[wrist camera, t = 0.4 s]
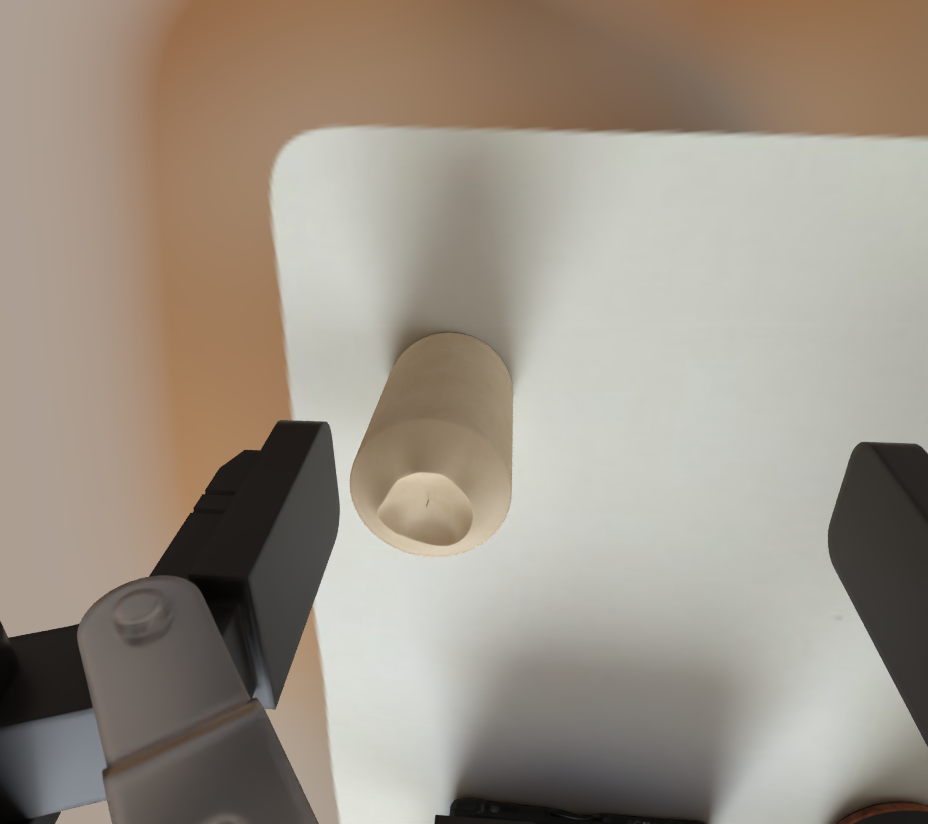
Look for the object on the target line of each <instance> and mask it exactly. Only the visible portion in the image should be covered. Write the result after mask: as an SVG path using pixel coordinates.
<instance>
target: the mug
mask: <svg viewBox="0 0 928 824" xmlns="http://www.w3.org/2000/svg"><path fill="white" fill-rule="evenodd" d="M838 824H928V806H925V805H921V804H915V803H887V804H880V805H876V806H872V807H868V808H865V809H862V810H860V811H858V812H855V813H853V814H851V815H849V816H848V817H846V818H845V819H843V820H842V821H840V822H839V823H838Z"/></svg>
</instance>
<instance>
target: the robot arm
mask: <svg viewBox="0 0 928 824" xmlns="http://www.w3.org/2000/svg"><path fill="white" fill-rule="evenodd" d="M205 492H206V493H205V495H204V494H203V495H202V496H201V498H200V499H199V501H198V502H197V504H196V505H195V507H194V512H193V513H190V515H189V516H188V517H187V519H186V521H185V522H184V524H183V525H182V527H181V528H180V530H179V531H178V533H177V535H176V536H175V537H174V539H173V541H172V542H171V544H170V545H169V547H168V548H167V550H166V551H165V553H164V554H163V556H162V557H161V559H160V561H159V562H158V564H157V565H156V567H155V568H154V570H153V571H152V573H151V574H150V576H149V577H145V578H141V579H138V580H134V581H131V582H128V583H126V584H124V585H121V586H119V587H117V588H115V589H114V590H112V591H110V592H108V593H107V594H105V595H104V596H103V597H101V598H100V599H99V600H98V601H96V602H95V603H94V604H93V605H92V606H91V607H90V609H89V610H88V611H87V612H86V613H85V615H84V617H83V618H82V620H81V622H80V624H77V625H73V626H68V627H63V628H58V629H52V630H48V631H42V632H37V633H31V634H26V635H21V636H16V637H10V638H8V637H7V634H6V632H5V630H4V628H3V626H2V624H1V622H0V824H55V822H56V821H57V819H58V817H59V815H60V813H61V811H63V810H68V809H72V808H76V807H80V806H84V805H88V804H92V803H97V802H101V801H105V800H107V802H108V806H109V811H110V816H111V820H112V824H318V821H317V819H316V817H315V815H314V813H313V811H312V809H311V807H310V804H309V802H308V800H307V798H306V796H305V794H304V792H303V789H302V787H301V785H300V783H299V781H298V779H297V777H296V775H295V773H294V771H293V768H292V766H291V764H290V762H289V760H288V758H287V756H286V754H285V751H284V749H283V747H282V745H281V743H280V741H279V739H278V737H277V735H276V733H275V730H274V728H273V726H272V724H271V722H270V720H269V718H268V716H267V714H266V711H265V709H276V706H277V704H278V701H279V698H280V695H281V692H282V690H283V687H284V684H285V681H286V678H287V675H288V673H289V669H290V667H291V664H292V661H293V659H294V655H295V653H296V650H297V647H298V645H299V641H300V639H301V636H302V633H303V630H304V628H305V625H306V622H307V619H308V616H309V614H310V610H311V608H312V605H313V602H314V600H315V597H316V594H317V591H318V588H319V585H320V583H321V580H322V577H323V574H324V571H325V569H326V566H327V563H328V560H329V557H330V554H331V552H332V549H333V546H334V543H335V540H336V537H337V532H338V526H339V515H340V504H339V494H338V485H337V477H336V468H335V459H334V451H333V442H332V434H331V430H330V426H329V424H328V423H327V422H319V421H290V420H289V421H288V420H280V421H278V422H277V424H276V425H275V427H274V428H273V430H272V432H271V434H270V435H269V437H268V439H267V440H266V442H265V444H264V445H263V447H262V449H261V451H259V450H244V451H243V452H241V453H240V454H239V455H237V456H236V457H234V458H233V459H232V460H230V461H229V462H227V463H226V464H225V465H223V466H222V467H221V468H219V470H218V471H217V473H216V474H215V476H214V478H213V479H212V481H211V482H210V484H209V485H208V487H207V488H206V490H205ZM828 548H829V554H830V558H831V561H832V564H833V566H834V568H835V570H836V572H837V574H838V576H839V578H840V580H841V582H842V584H843V586H844V587H845V589H846V591H847V593H848V595H849V597H850V599H851V601H852V603H853V605H854V607H855V609H856V610H857V612H858V614H859V616H860V618H861V620H862V622H863V624H864V626H865V628H866V630H867V632H868V633H869V635H870V637H871V639H872V641H873V643H874V645H875V647H876V649H877V651H878V653H879V654H880V656H881V658H882V660H883V662H884V664H885V666H886V668H887V670H888V672H889V674H890V676H891V677H892V679H893V681H894V683H895V685H896V687H897V689H898V691H899V693H900V695H901V697H902V698H903V700H904V702H905V704H906V706H907V708H908V710H909V712H910V714H911V716H912V718H913V720H914V721H915V723H916V725H917V727H918V729H919V731H920V733H921V735H922V737H923V739H924V741H925V743H926V744H927V746H928V454H927V453H926V451H925V450H924V449H923V448H922V447H921V446H919V445H917V444H907V443H879V442H861V443H859V444H858V445H857V446H856V447H855V448H854V450H853V452H852V454H851V456H850V459H849V463H848V466H847V469H846V472H845V476H844V479H843V482H842V485H841V488H840V492H839V495H838V498H837V501H836V505H835V508H834V511H833V514H832V517H831V521H830V524H829V530H828ZM435 824H536V823H533V822H524V821H511V820H497V819H484V818H470V817H457V816H444V815H436V816H435Z"/></svg>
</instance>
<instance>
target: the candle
mask: <svg viewBox="0 0 928 824" xmlns="http://www.w3.org/2000/svg"><path fill="white" fill-rule="evenodd" d="M512 436H513V390H512V382H511V378H510V375H509V373H508V370H507V368H506V366H505V364H504V362H503V361H502V359H501V358H500V357H499V355H498V354H497V353H496V352H495V351H494V350H493V349H492V348H491V347H489V346H488V345H487V344H485V343H484V342H482V341H480V340H478V339H476V338H474V337H471V336H468V335H465V334H459V333H438V334H434V335H430V336H427V337H424V338H422V339H420V340H418V341H417V342H415V343H414V344H412V345H411V346H410V347H408V348H407V349H406V350H405V351H404V352H403V353H402V354H401V356H400V357H399V358H398V360H397V361H396V363H395V364H394V366H393V369H392V371H391V373H390V375H389V377H388V380H387V382H386V385H385V387H384V390H383V392H382V394H381V397H380V399H379V402H378V404H377V407H376V409H375V411H374V414H373V416H372V419H371V421H370V424H369V426H368V429H367V431H366V433H365V436H364V438H363V441H362V443H361V446H360V448H359V450H358V453H357V455H356V458H355V460H354V463H353V466H352V470H351V475H350V492H351V497H352V501H353V504H354V507H355V509H356V511H357V513H358V515H359V517H360V518H361V520H362V521H363V522H364V524H365V525H366V526H367V527H368V528H369V530H370V531H371V532H372V533H374V534H375V535H376V536H377V537H378V538H379V539H381V540H382V541H384V542H385V543H387V544H389V545H390V546H392V547H394V548H396V549H399V550H401V551H404V552H407V553H410V554H414V555H419V556H425V557H446V556H452V555H457V554H461V553H464V552H467V551H469V550H472V549H474V548H476V547H477V546H479V545H481V544H483V543H484V542H485V541H487V540H488V539H489V538H490V537H491V536H492V535H493V534H494V533H496V531H497V530H498V529H499V527H500V526H501V525H502V523H503V521H504V520H505V518H506V516H507V513H508V510H509V507H510V503H511V493H512Z"/></svg>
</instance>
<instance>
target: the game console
mask: <svg viewBox="0 0 928 824" xmlns="http://www.w3.org/2000/svg"><path fill="white" fill-rule="evenodd" d="M450 816H457V817H470V818H484V819H497V820H511V821H524V822H533V823H536V824H704V823H700V822H693V821H684V820H679V821H671V820H661V819H651V818H639V817H629V816H620V815H611V814H609V815H603V814H596V815H589V816H580V815H574V814H570V813H567V812H565V811H562V810H554V809H549V808H542V807H531V806H522V805H513V804H503V803H493V802H483V801H482V800H474V799H457V800H454V802H453V803H452V804H451V807H450Z"/></svg>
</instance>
